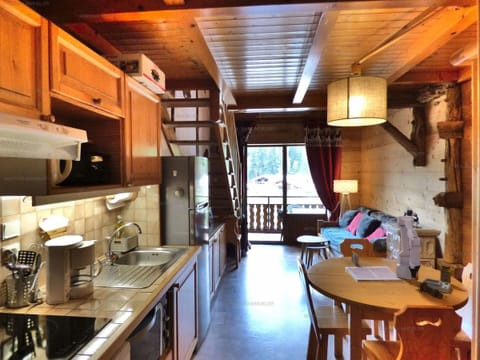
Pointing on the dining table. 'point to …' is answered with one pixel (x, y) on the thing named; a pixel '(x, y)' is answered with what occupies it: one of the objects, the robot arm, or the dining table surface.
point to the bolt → (430, 290)
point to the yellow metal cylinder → (445, 274)
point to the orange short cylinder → (416, 277)
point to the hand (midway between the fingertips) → (414, 276)
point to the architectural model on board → (355, 258)
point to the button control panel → (437, 284)
